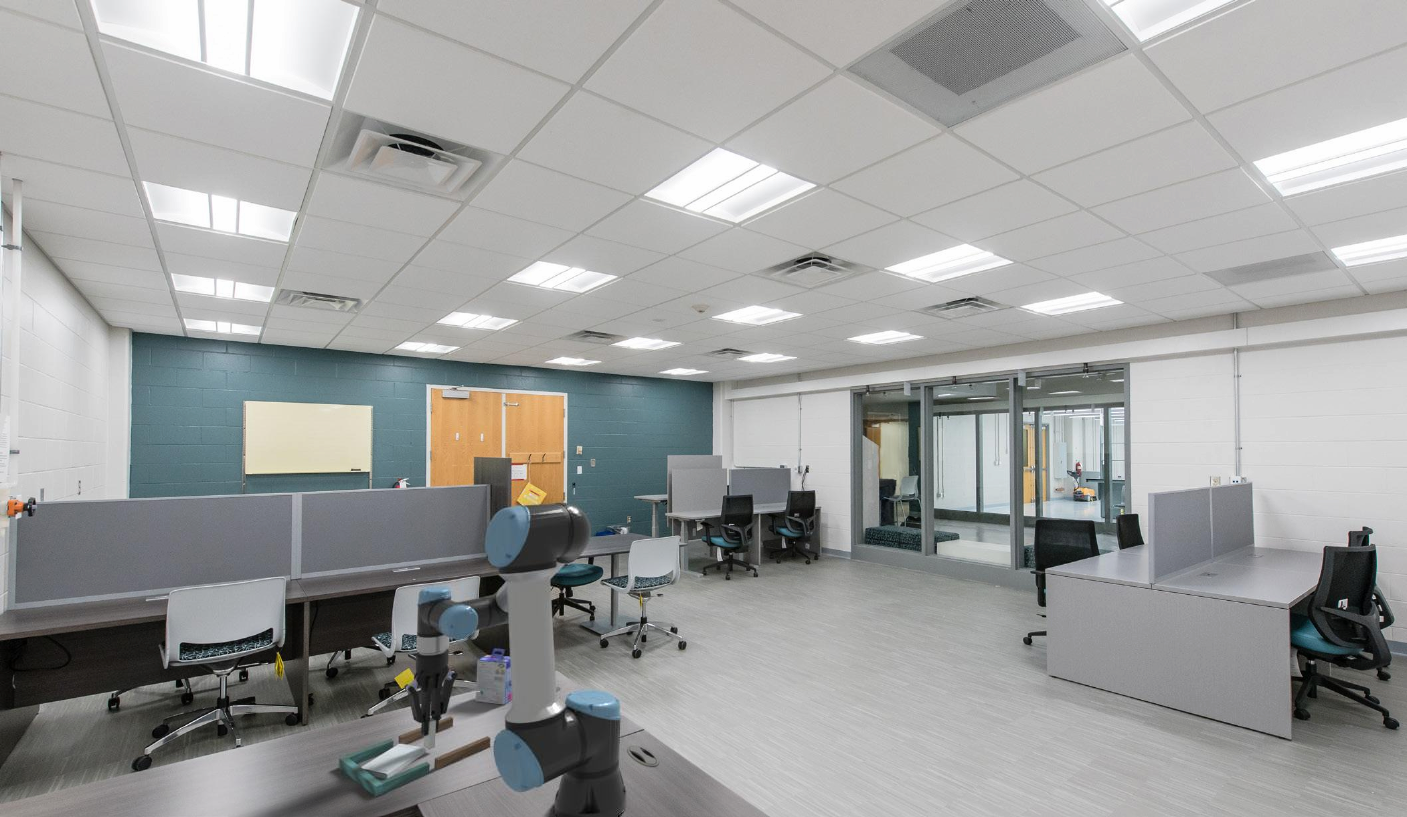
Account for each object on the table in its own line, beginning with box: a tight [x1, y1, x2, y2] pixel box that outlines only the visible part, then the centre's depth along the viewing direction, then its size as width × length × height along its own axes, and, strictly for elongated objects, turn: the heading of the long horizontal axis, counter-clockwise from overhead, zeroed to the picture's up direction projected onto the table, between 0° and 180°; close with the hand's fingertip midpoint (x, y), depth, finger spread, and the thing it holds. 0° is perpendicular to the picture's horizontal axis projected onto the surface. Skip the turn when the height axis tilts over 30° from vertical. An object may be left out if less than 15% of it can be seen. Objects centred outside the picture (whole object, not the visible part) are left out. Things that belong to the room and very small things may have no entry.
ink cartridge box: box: [475, 647, 512, 705], centre depth 182 cm, size 10×6×14 cm, turn 78°
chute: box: [338, 716, 491, 798], centre depth 149 cm, size 19×28×2 cm
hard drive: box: [360, 744, 427, 780], centre depth 146 cm, size 2×8×12 cm
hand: (429, 746), depth 151 cm, fingers closed
